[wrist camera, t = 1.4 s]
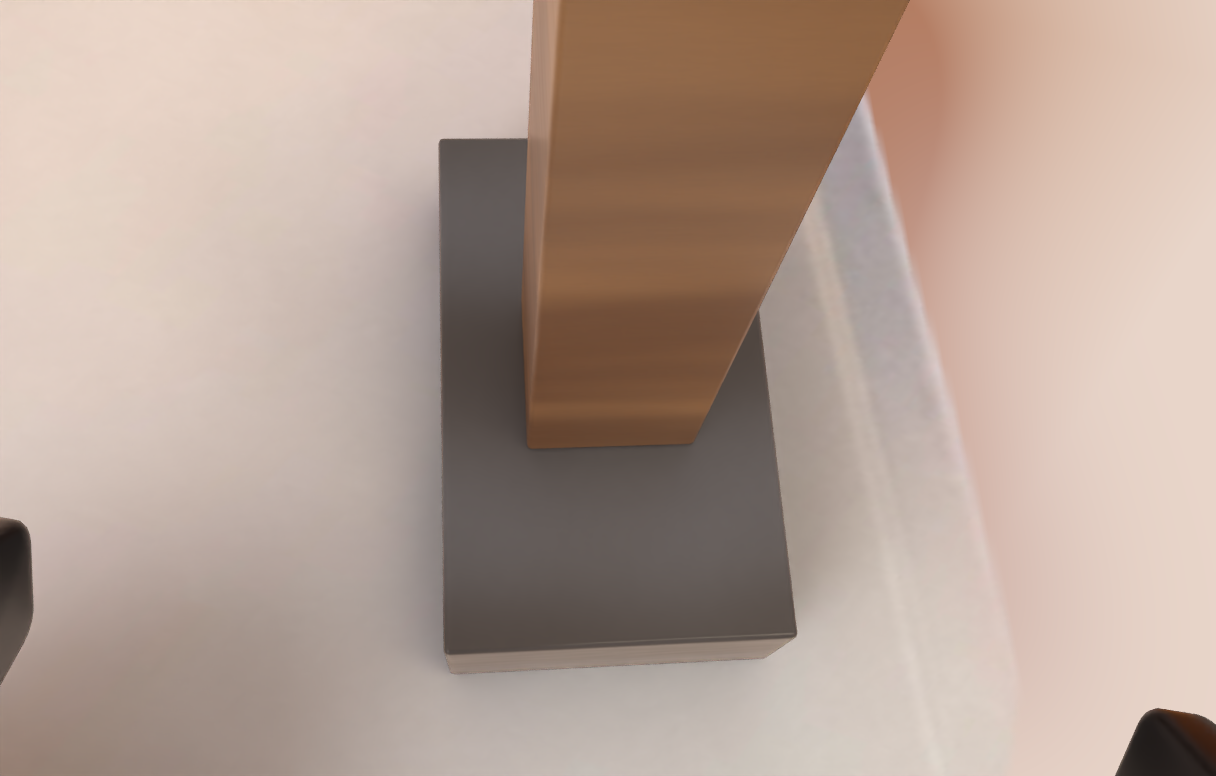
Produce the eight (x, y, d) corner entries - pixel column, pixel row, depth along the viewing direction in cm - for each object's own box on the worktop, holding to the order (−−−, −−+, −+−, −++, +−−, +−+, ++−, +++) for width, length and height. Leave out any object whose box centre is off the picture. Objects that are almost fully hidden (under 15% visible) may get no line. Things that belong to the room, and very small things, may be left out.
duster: (767, 658, 22) (1229, 350, 8) (449, 675, 21) (355, 370, 7) (717, 199, 26) (977, -563, 12) (443, 201, 25) (374, -600, 11)
